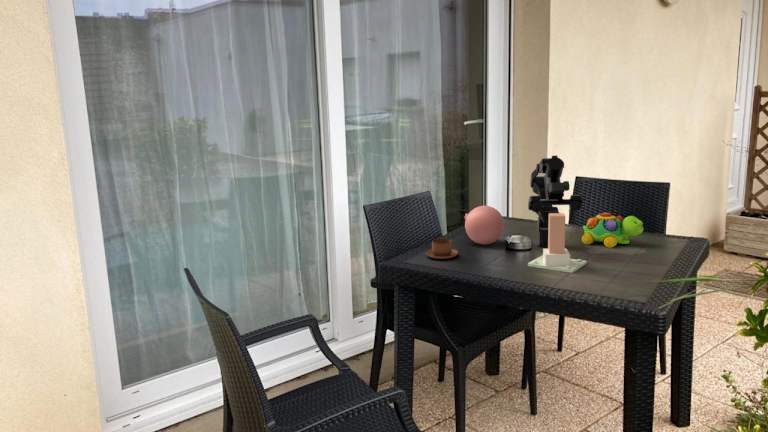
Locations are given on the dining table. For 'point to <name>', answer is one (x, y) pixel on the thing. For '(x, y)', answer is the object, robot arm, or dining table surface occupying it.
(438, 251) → the cup and saucer
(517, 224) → the dining table surface
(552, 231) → the column brick
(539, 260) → the tower base
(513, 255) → the dining table surface
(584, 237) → the turtle toy
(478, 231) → the balloon
